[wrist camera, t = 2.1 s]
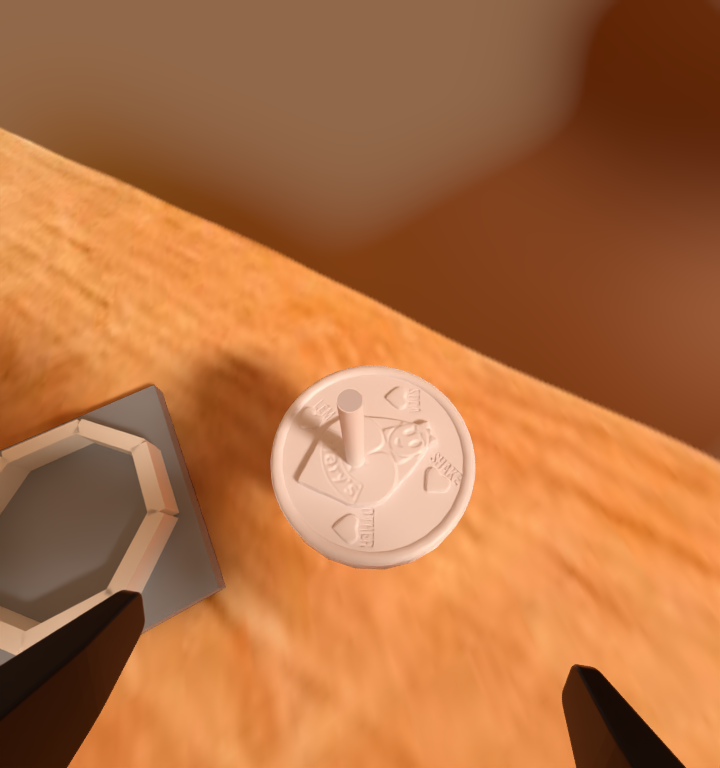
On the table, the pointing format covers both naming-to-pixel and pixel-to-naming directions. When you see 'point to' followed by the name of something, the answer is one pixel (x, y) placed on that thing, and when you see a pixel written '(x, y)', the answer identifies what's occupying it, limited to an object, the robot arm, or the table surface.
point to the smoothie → (372, 467)
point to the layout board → (99, 522)
